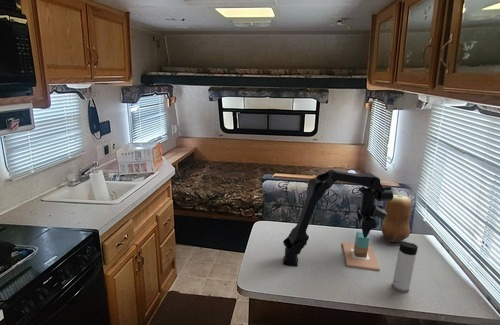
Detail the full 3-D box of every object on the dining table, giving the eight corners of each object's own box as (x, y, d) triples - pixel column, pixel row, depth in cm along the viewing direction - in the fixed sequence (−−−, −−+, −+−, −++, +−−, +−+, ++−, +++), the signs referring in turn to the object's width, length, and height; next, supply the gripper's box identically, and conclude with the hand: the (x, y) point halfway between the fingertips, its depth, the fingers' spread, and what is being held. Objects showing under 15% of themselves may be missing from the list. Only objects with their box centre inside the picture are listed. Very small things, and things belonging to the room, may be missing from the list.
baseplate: (379, 270, 139) (380, 268, 139) (346, 266, 141) (347, 264, 141) (371, 247, 158) (371, 245, 158) (342, 243, 160) (342, 241, 160)
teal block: (367, 248, 145) (369, 238, 144) (356, 246, 146) (358, 237, 145) (366, 242, 150) (367, 233, 149) (355, 241, 151) (356, 232, 150)
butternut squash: (388, 231, 175) (395, 189, 168) (412, 242, 165) (421, 197, 158) (374, 238, 167) (381, 194, 160) (398, 250, 157) (407, 203, 150)
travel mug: (391, 289, 127) (400, 245, 122) (392, 280, 133) (401, 237, 128) (408, 294, 125) (418, 249, 119) (409, 285, 130) (418, 242, 125)
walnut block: (366, 257, 147) (367, 248, 145) (355, 256, 148) (356, 246, 146) (364, 252, 152) (366, 242, 150) (353, 250, 152) (355, 241, 151)
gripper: (392, 211, 132) (386, 245, 136) (382, 195, 150) (377, 225, 154) (364, 209, 134) (359, 241, 138) (357, 193, 152) (353, 222, 156)
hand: (363, 232), depth 146 cm, fingers open, 9 cm apart
